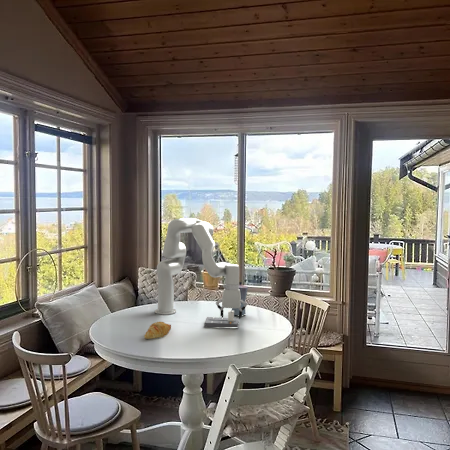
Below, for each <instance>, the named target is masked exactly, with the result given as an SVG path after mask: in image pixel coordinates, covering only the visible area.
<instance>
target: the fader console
mask: <svg viewBox="0 0 450 450" xmlns="http://www.w3.org/2000/svg"><path fill="white" fill-rule="evenodd" d="M239 321H240V319H239V317H238V318H235V317H234V322H233V321H228V317H223V318H222V317H216V316H215V317H214V316H213V317H212V316H206V318H205V320H204V323H203V324H204V325H203V327H204V328H210V327H238V328H239V324H238V323H239Z"/></svg>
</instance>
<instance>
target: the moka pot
mask: <svg viewBox="0 0 450 450" xmlns="http://www.w3.org/2000/svg"><path fill="white" fill-rule="evenodd" d="M239 289H240V293H241V300H242V301H244V302H246V299H247V296H248V290H249V286H247V285H246V284H245V285H243V282H242V281H239ZM243 306H244V304H242V303H241V308H242V307H243ZM231 310H232V311H234V315H239V311H240V310H239V309H238V308H231ZM246 313H247V312H246V308H245V309H244V310H243V311H242V315H244V314H246Z"/></svg>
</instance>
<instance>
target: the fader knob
mask: <svg viewBox="0 0 450 450" xmlns="http://www.w3.org/2000/svg"><path fill="white" fill-rule="evenodd" d="M227 313H228V314H227V318H228V321H233V322H234V318H235V316H234V311H232V309H231V310H228V312H227Z"/></svg>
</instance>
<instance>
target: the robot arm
mask: <svg viewBox="0 0 450 450" xmlns="http://www.w3.org/2000/svg"><path fill="white" fill-rule="evenodd" d="M166 231H167V232H166V237H165V240H164V245H163V249H162V255H163V257H164V258H165V260H161V261H160V262H158V264H157V265H156V273H157V308H156V309H155V310H154V312H155V314H157V315H173V314H176V312H177V310H176V309H175V308H174V307H175V306H174V303H175V301H174V300H175V298H174V296H175V295H174V294H175V293H174V291H175V281H174V277H173V276H174V275H178V274H180V273H182V271H183V268H184V263H185V261H186V256H187V247H186V245H185V243H183V242H181V239H182V238H181V234H184V233H185V234H188V233H192V235H193V237H194V239H195V241H196V244H198V246H199V248H200V250H201V259H202V264H203V267H204V268H205V270H206V272H207V274H208V275H209V276H210V277H211V278H219V277H225V278H224V280H225V282H224V284H222V287H223V288H224V289H223V291H222V298H221V299H219V300H217V301H215V305H216V306H217V308H218V309H219V311H220V317H221V318H224V309H232V308H238V309H239V310H240V311H239V316H238V318H239V320H240V319H242V317H243V316H242V311H243V310H244V309H245V310H246V308H247V306H248V302H246V301H245V302H244V301H242V300H241V293H240V289H239V282H240V266H239V264H235V263H229V262H228V263H227V262H223V261H221V262H216V261H215V259H214V257H213V250H214V248H215V247H216V243H215V241H214V239H213V238H212V236H213V234H214V227H213V225H212V224H210V223H209V222H207V221H204V220H200V219H197V218H193V217H190V218H189V217H188V218H187V217H186V218H175V219H172V220H171V221H170V222H169V223H168V225H167V229H166ZM241 303H242V304H244V306H243V307H242V308H241ZM220 304H221V305H220Z"/></svg>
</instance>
